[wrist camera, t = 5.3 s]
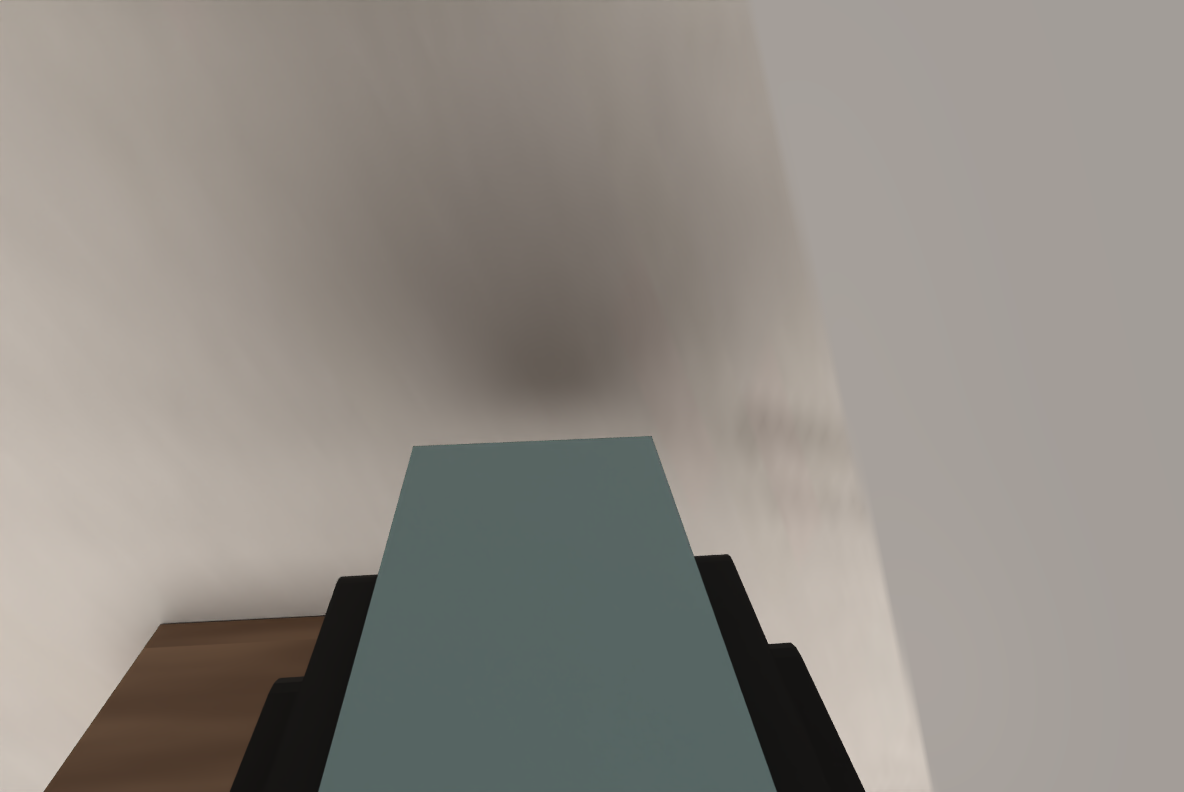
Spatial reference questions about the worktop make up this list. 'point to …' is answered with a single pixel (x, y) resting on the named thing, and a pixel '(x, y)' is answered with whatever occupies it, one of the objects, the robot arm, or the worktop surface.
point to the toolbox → (187, 707)
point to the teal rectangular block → (541, 635)
